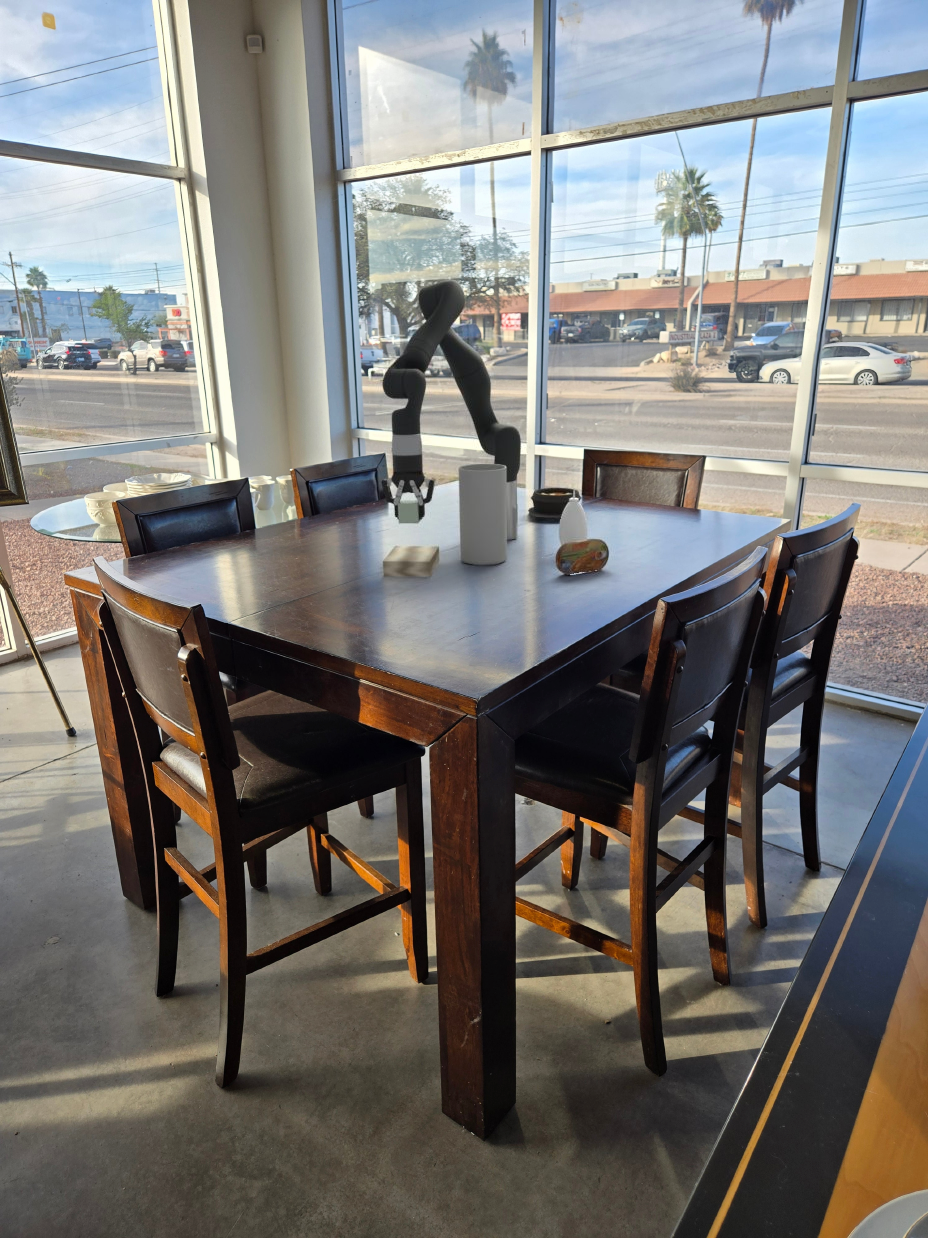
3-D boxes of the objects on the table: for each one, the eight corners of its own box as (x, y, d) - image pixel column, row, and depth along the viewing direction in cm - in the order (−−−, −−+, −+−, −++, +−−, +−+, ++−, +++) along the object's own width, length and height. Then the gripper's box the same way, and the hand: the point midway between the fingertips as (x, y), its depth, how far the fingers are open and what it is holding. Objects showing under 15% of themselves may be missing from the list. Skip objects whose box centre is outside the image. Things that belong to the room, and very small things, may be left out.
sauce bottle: (586, 557, 216) (588, 491, 210) (557, 556, 217) (558, 490, 212) (587, 550, 223) (589, 486, 217) (559, 549, 225) (560, 485, 219)
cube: (421, 519, 207) (420, 500, 206) (418, 523, 202) (417, 503, 201) (402, 519, 208) (401, 500, 206) (398, 523, 203) (397, 503, 201)
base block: (439, 560, 216) (438, 546, 215) (430, 576, 201) (429, 561, 200) (395, 560, 217) (395, 545, 216) (383, 576, 202) (382, 561, 201)
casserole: (568, 525, 254) (568, 499, 251) (515, 521, 262) (515, 495, 260) (594, 511, 275) (595, 486, 272) (544, 507, 283) (544, 483, 281)
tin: (560, 578, 198) (560, 545, 195) (553, 575, 200) (553, 542, 198) (609, 569, 204) (610, 537, 201) (601, 567, 207) (602, 535, 204)
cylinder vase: (483, 552, 224) (482, 462, 216) (516, 559, 215) (516, 466, 207) (451, 560, 216) (448, 467, 207) (484, 568, 207) (482, 472, 199)
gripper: (437, 450, 202) (439, 516, 208) (382, 450, 204) (385, 515, 209) (433, 453, 195) (435, 522, 201) (375, 454, 197) (379, 521, 202)
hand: (409, 518), depth 205 cm, fingers closed on cube, 5 cm apart
